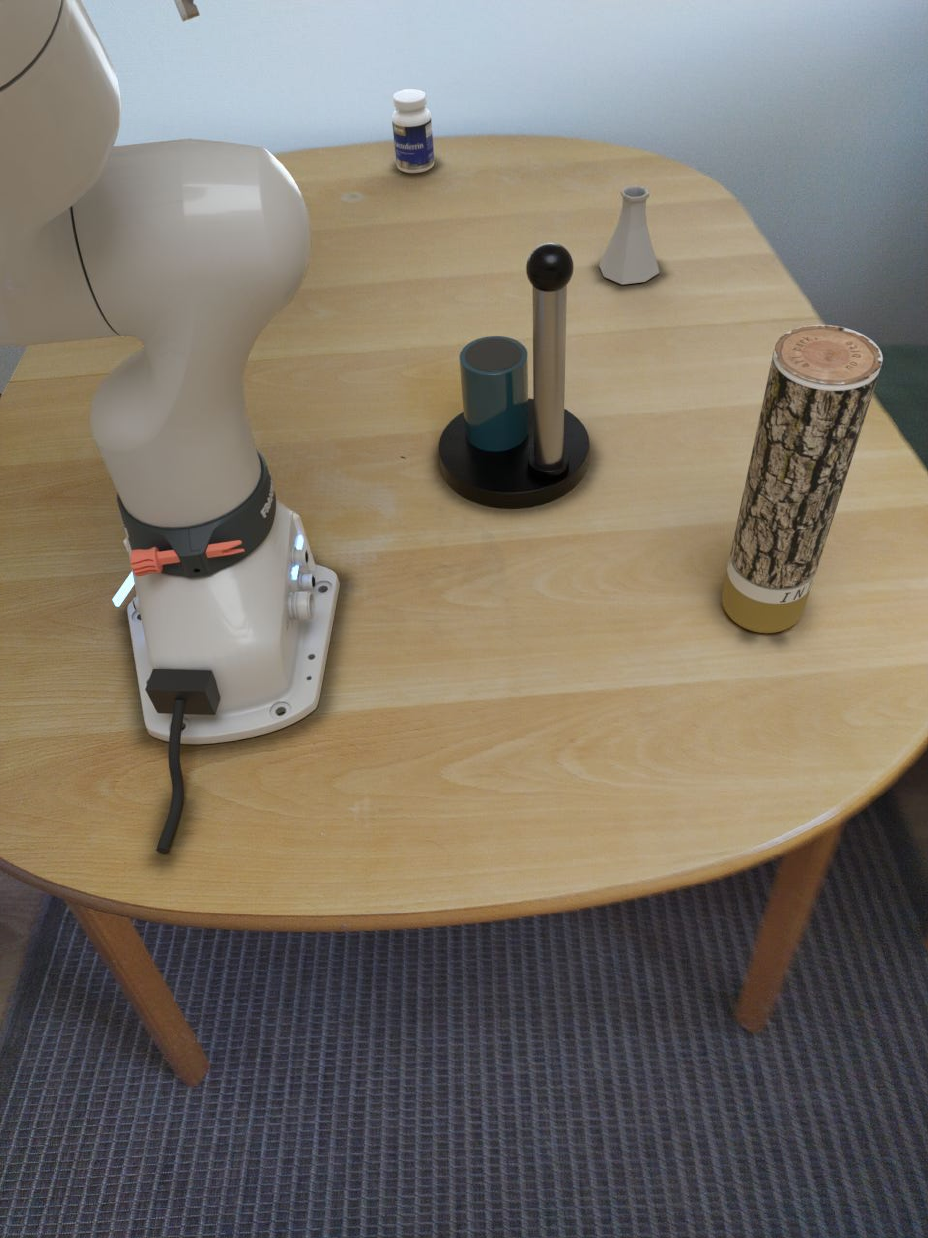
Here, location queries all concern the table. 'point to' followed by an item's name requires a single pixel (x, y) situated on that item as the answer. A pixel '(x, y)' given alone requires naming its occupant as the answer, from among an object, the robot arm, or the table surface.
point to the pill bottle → (412, 132)
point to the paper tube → (797, 471)
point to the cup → (495, 392)
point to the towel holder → (529, 412)
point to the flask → (630, 242)
